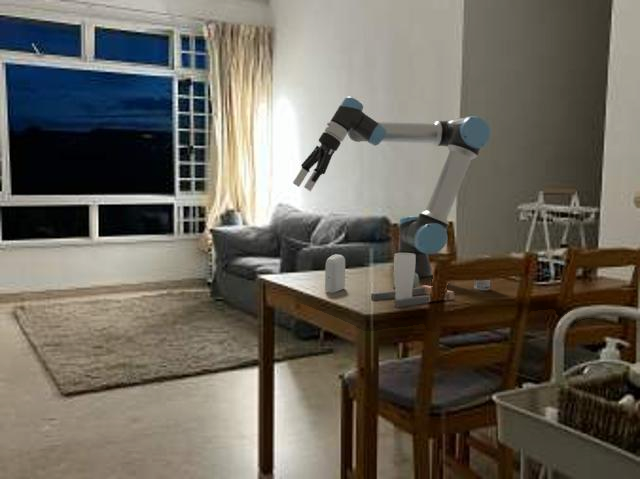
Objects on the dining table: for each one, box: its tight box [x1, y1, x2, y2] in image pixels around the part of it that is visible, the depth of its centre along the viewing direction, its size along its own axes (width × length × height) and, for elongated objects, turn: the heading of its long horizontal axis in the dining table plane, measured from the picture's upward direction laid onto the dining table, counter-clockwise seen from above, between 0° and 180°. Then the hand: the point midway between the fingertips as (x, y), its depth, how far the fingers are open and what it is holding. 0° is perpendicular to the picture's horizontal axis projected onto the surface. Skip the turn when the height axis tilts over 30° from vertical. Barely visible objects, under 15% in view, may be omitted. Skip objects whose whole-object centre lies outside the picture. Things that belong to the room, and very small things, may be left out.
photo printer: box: [324, 254, 346, 294], centre depth 223 cm, size 10×4×12 cm, turn 156°
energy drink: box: [473, 254, 492, 292], centre depth 230 cm, size 5×5×12 cm
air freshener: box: [391, 272, 420, 288], centre depth 229 cm, size 11×8×10 cm
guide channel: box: [370, 284, 455, 308], centre depth 211 cm, size 24×13×2 cm, turn 125°
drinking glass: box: [393, 252, 416, 300], centre depth 208 cm, size 7×7×15 cm
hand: (301, 187), depth 233 cm, fingers open, 13 cm apart
